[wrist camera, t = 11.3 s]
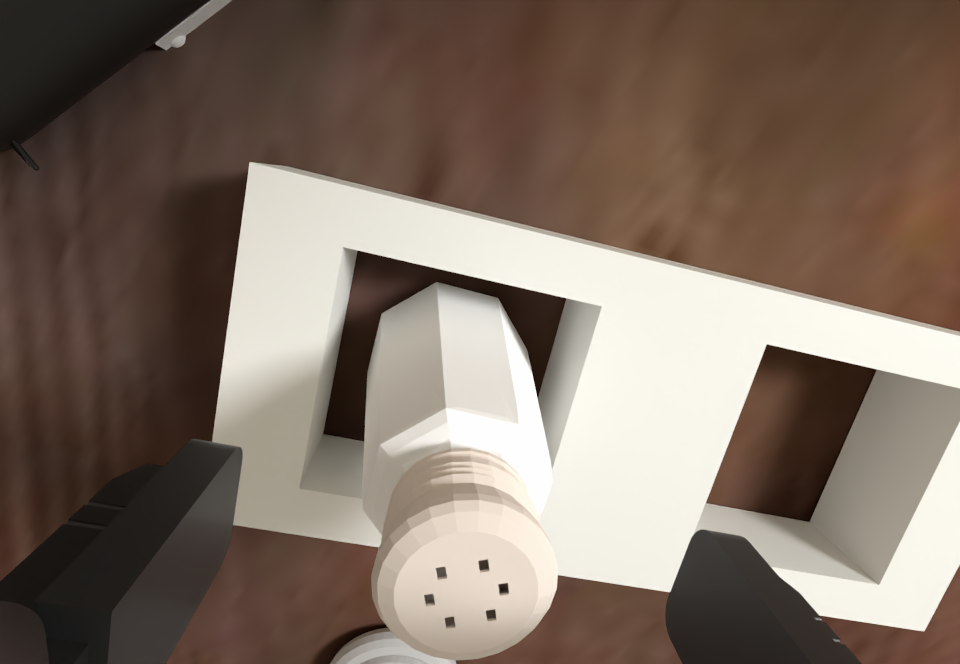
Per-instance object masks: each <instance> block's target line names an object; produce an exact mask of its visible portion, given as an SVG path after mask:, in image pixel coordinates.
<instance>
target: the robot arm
mask: <svg viewBox="0 0 960 664" xmlns="http://www.w3.org/2000/svg"><path fill="white" fill-rule="evenodd" d="M242 458H243V452H242V448H241V447H238V446H233V445H227V444H221V443H216V442H210V441H204V440H199V439H191V440H190V441H189V442H188V443H187V444H186V445H185V446H184V447H183V448H182V449H181V450H180V451H179V452H178V453H177V454H176V455H175V456H174V457H173V458H172V459H171V460H170V461H169V462H168V463H167V464H166V465H165V466H159V465H153V464H145V465H142V466H140V467H138V468H136V469H134V470H131V471H129V472H127V473H125V474H123V475H120V476H118V477H116V478H114V479H112V480H111V481H110V482H109V483H108V484H107V485H106V486H105V487H104V488H102V489H101V490H100V491H99V492H98V493H97V494H96V495H95V496H94V497H93V498H91V499H90V500H89V503H88V505H84V506H83V507H82V508H80V509H79V510H78V511H77V512H76V513H75V514H74V515H73V516H72V517H71V518H70V519H69V520H68V523H67V524H66V525H65V524H63V525H62V526H61V527H60V528H59V529H57V530H56V531H55V532H54V533H53V534H52V535H51V536H50V537H49V538H48V539H46V540H45V541H44V542H43V543H42V544H41V545H40V546H39V547H38V548H37V549H35V550H34V551H33V552H32V553H31V554H30V555H29V556H28V557H27V558H26V559H25V560H23V561H22V562H21V563H20V564H19V565H18V566H17V567H16V568H15V569H14V570H12V571H11V572H10V573H9V574H8V575H7V576H6V577H5V578H4V579H3V580H1V581H0V664H166V662H167V661H168V659H169V657H170V655H171V654H172V652H173V650H174V648H175V646H176V645H177V643H178V641H179V639H180V638H181V636H182V634H183V632H184V631H185V629H186V627H187V625H188V624H189V622H190V620H191V618H192V617H193V615H194V613H195V611H196V609H197V608H198V606H199V604H200V602H201V601H202V599H203V597H204V595H205V594H206V592H207V590H208V588H209V587H210V585H211V583H212V581H213V580H214V578H215V576H216V574H217V572H218V571H219V569H220V567H221V564H222V562H223V560H224V557H225V554H226V551H227V548H228V545H229V542H230V538H231V534H232V528H233V522H234V515H235V508H236V501H237V494H238V487H239V480H240V473H241V466H242ZM666 626H667V631H668V634H669V637H670V639H671V641H672V643H673V645H674V647H675V649H676V651H677V653H678V655H679V657H680V659H681V661H682V663H683V664H861V662H860V661H859V660H858V659H857V658H856V657H855V656H854V654H853V653H852V652H851V651H850V650H849V649H848V648H847V646H846V645H844V644H840V638H839V637H838V636H837V635H836V634H835V633H834V632H833V630H832V629H831V628H830V627H829V626H828V625H827V624H826V623H824V622H821V617H820V616H819V614H818V613H817V612H816V611H815V610H814V609H813V608H812V606H811V605H810V604H809V603H808V602H807V601H806V600H805V598H804V597H803V596H802V595H801V594H800V593H799V592H798V591H797V590H795V589H794V588H793V587H792V586H790V585H789V584H788V583H787V582H785V581H784V580H783V579H782V578H780V577H779V576H778V575H777V574H776V572H775V571H774V570H773V569H772V568H771V567H770V565H769V564H768V563H767V562H766V561H765V560H764V558H763V557H762V556H761V555H760V554H759V553H758V551H757V550H756V549H755V548H754V547H753V546H752V544H751V543H750V542H749V541H748V540H747V539H746V538H744V537H742V536H738V535H733V534H727V533H721V532H715V531H710V530H702V529H701V530H698V531H697V532H696V533H695V534H694V535H693V536H692V538H691V540H690V542H689V545H688V547H687V550H686V553H685V555H684V558H683V560H682V563H681V566H680V568H679V571H678V573H677V576H676V578H675V581H674V584H673V586H672V589H671V591H670V594H669V597H668V600H667V604H666Z"/></svg>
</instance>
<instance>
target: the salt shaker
mask: <svg viewBox="0 0 960 664" xmlns="http://www.w3.org/2000/svg"><path fill="white" fill-rule="evenodd" d="M552 483H553V478H552V468H551V460H550V455H549V451H548V446H547V441H546V436H545V432H544V427H543V422H542V417H541V413H540V408H539V403H538V398H537V394H536V389H535V384H534V379H533V375H532V370H531V365H530V360H529V356H528V351H527V348H526V347H525V345H524V343H523V341H522V340H521V338H520V336H519V334H518V333H517V331H516V329H515V327H514V325H513V324H512V322H511V320H510V318H509V317H508V315H507V313H506V311H505V310H504V308H503V306H502V304H501V302H500V301H499V299H498V298H496V297H493V296H489V295H485V294H481V293H477V292H473V291H470V290H466V289H462V288H458V287H454V286H450V285H447V284H443V283H439V282H436V283H434V284H432V285H430V286H429V287H427V288H425V289H423V290H422V291H420V292H418V293H416V294H415V295H413V296H411V297H409V298H408V299H406V300H404V301H403V302H401V303H399V304H397V305H396V306H394V307H392V308H390V309H389V310H387V311H385V312H383V313H382V314H381V318H380V322H379V326H378V330H377V334H376V338H375V342H374V347H373V351H372V355H371V359H370V363H369V367H368V371H367V390H366V413H365V435H364V457H363V480H362V498H363V511H364V512H365V513H366V515H367V516H368V517H369V519H370V520H371V522H372V523H373V524H374V526H375V527H376V528H377V530H378V531H379V532H380V534H381V535H382V538H381V544H380V546H379V549H378V552H377V556H376V560H375V564H374V567H373V571H372V575H371V582H372V598H373V601H374V603H375V606H376V609H377V611H378V614H379V617H380V618H381V619H382V620H383V622H384V623H385V624H386V626H387V627H388V628H389V629H390V631H391V632H392V633H393V634H394V635H395V636H397V637H398V638H399V639H401V640H402V641H403V642H405V643H406V644H407V645H409V646H410V647H411V648H413V649H415V650H417V651H420V652H422V653H425V654H427V655H430V656H432V657H437V658H443V659H449V660H469V659H479V658H482V657H486V656H490V655H493V654H497V653H500V652H501V651H503V650H505V649H507V648H509V647H511V646H513V645H515V644H517V643H518V642H519V641H521V640H522V639H523V638H524V637H525V636H527V635H528V634H529V633H530V632H531V631H532V630H534V628H535V627H536V626H537V625H538V623H539V622H540V621H541V619H542V618H543V616H544V615H545V614H546V612H547V611H548V609H549V608H550V605H551V603H552V600H553V597H554V595H555V592H556V589H557V577H558V566H557V562H556V558H555V554H554V550H553V547H552V545H551V542H550V540H549V538H548V537H547V535H546V533H545V532H544V530H543V529H542V527H541V524H540V517H541V515H542V512H543V509H544V506H545V503H546V500H547V497H548V494H549V491H550V489H551V486H552Z"/></svg>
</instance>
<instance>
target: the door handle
mask: <svg viewBox="0 0 960 664" xmlns="http://www.w3.org/2000/svg"><path fill="white" fill-rule="evenodd" d="M231 1H232V0H0V150H4V149H8V148H13V149H14V150H15V151H16V152H17V153H18V154H19V155H20V156H21V157H22V158H23V157H24V158H25V159H26V160H27V161H28V163H29V164H30V165H31V166H32V167H33V169H34V170H39V167H38V166H37V165H36V163H35V162H34V161H33V160H32V159H31V157H30V156H29V155H28V154H27V153H26V151H25V150H24V149H23V148H22V147H21V145H20V144H21V143H23V142H25V141H26V140H28V139H29V138H30V137H32V136H33V135H34V134H36V133H37V132H38V131H40V130H41V129H42V128H44V127H45V126H46V125H47V124H49V123H50V122H51V121H53V120H54V119H55V118H57V117H58V116H59V115H61V114H62V113H63V112H64V111H66V110H67V109H68V108H70V107H71V106H72V105H74V104H75V103H76V102H78V101H79V100H80V99H82V98H83V97H84V96H85V95H87V94H88V93H89V92H91V91H92V90H93V89H95V88H96V87H97V86H99V85H100V84H101V83H103V82H104V81H105V80H106V79H108V78H109V77H110V76H112V75H113V74H114V73H116V72H117V71H118V70H120V69H121V68H122V67H123V66H125V65H126V64H127V63H129V62H130V61H131V60H133V59H134V58H135V57H137V56H138V55H139V54H141V53H142V52H143V51H144V50H146V49H147V48H148V47H150V46H151V45H152V44H154V43H155V44H156V45H158V46H159V47H161V48H163V49H165V50H168V49H169V48H170V47H175V48H178V47H181V46H182V45H183V44H184V43H185V40H186V35H187V34H189V33H190V32H191V31H193V30H194V29H195V28H197V27H198V26H199V25H201V24H202V23H203V22H204V21H206V20H207V19H208V18H210V17H211V16H212V15H214V14H215V13H216V12H218V11H219V10H220V9H222V8H223V7H224V6H226V5H227V4H228V3H229V2H231ZM21 154H22V155H23V156H22V155H21ZM24 158H23V160H24V161H25V162H26V160H25V159H24ZM26 163H27V162H26ZM28 163H27V164H28ZM29 164H28V165H29Z"/></svg>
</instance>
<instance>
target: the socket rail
mask: <svg viewBox="0 0 960 664" xmlns="http://www.w3.org/2000/svg"><path fill="white" fill-rule="evenodd" d="M357 251H362V252H367V253H371V254H375V255H380V256H384V257H388V258H393V259H397V260H402V261H406V262H410V263H415V264H419V265H423V266H428V267H432V268H436V269H441V270H445V271H450V272H454V273H458V274H463V275H467V276H471V277H476V278H480V279H484V280H489V281H493V282H498V283H502V284H506V285H511V286H515V287H519V288H524V289H528V290H532V291H537V292H541V293H546V294H550V295H554V296H559V297H563V298H566V302H565V305H564V309H563V312H562V316H561V319H560V323H559V326H558V330H557V333H556V337H555V340H554V343H553V347H552V350H551V354H550V357H549V361H548V364H547V368H546V371H545V375H544V378H543V382H542V385H541V389H540V392H539V396H538V403H539V408H540V413H541V417H542V422H543V427H544V432H545V436H546V441H547V446H548V451H549V455H550V460H551V468H552V478H553V483H552V486H551V489H550V491H549V494H548V497H547V500H546V503H545V506H544V509H543V512H542V515H541V517H540V524H541V527H542V529H543V530H544V532H545V533H546V535H547V537H548V538H549V540H550V542H551V545H552V547H553V550H554V554H555V558H556V562H557V566H558V575H561V576H568V577H574V578H581V579H587V580H594V581H600V582H607V583H613V584H620V585H626V586H633V587H639V588H646V589H652V590H659V591H665V592H670V591H671V589H672V586H673V584H674V581H675V578H676V576H677V573H678V571H679V568H680V566H681V563H682V560H683V558H684V555H685V553H686V550H687V547H688V545H689V542H690V540H691V538H692V536H693V535H694V534H695V533H696V532H697V531H698V530H701V529H702V530H710V531H715V532H721V533H727V534H733V535H738V536H742V537H744V538H746V539H747V540H748V541H749V542H750V543H751V544H752V546H753V547H754V548H755V549H756V550H757V551H758V553H759V554H760V555H761V556H762V557H763V558H764V560H765V561H766V562H767V563H768V564H769V565H770V567H771V568H772V569H773V570H774V571H775V572H776V574H777V575H778V576H779V577H780V578H782V579H783V580H784V581H785V582H787V583H788V584H789V585H790V586H792V587H793V588H794V589H795V590H797V591H798V592H799V593H800V594H801V595H802V596H803V597H804V598H805V600H806V601H807V602H808V603H809V604H810V605H811V606H812V608H813V609H814V610H815V611H816V612H817V613H818V614H819V615H821V616H827V617H834V618H840V619H847V620H853V621H860V622H866V623H873V624H879V625H886V626H892V627H899V628H905V629H912V630H918V631H925V629H926V627H927V625H928V623H929V621H930V619H931V618H932V616H933V614H934V612H935V610H936V608H937V606H938V604H939V602H940V601H941V599H942V597H943V595H944V593H945V591H946V589H947V587H948V585H949V584H950V582H951V580H952V578H953V576H954V574H955V572H956V570H957V568H958V567H959V565H960V332H958V331H954V330H950V329H946V328H942V327H938V326H934V325H929V324H925V323H921V322H917V321H913V320H909V319H905V318H901V317H897V316H893V315H889V314H885V313H881V312H877V311H873V310H869V309H865V308H860V307H856V306H852V305H848V304H844V303H840V302H836V301H832V300H828V299H824V298H820V297H816V296H812V295H808V294H804V293H800V292H795V291H791V290H787V289H783V288H779V287H775V286H771V285H767V284H763V283H759V282H755V281H751V280H747V279H743V278H739V277H735V276H731V275H726V274H722V273H718V272H714V271H710V270H706V269H702V268H698V267H694V266H690V265H686V264H682V263H678V262H674V261H670V260H666V259H661V258H657V257H653V256H649V255H645V254H641V253H637V252H633V251H629V250H625V249H621V248H617V247H613V246H609V245H605V244H601V243H596V242H592V241H588V240H584V239H580V238H576V237H572V236H568V235H564V234H560V233H556V232H552V231H548V230H544V229H540V228H536V227H532V226H527V225H523V224H519V223H515V222H511V221H507V220H503V219H499V218H495V217H491V216H487V215H483V214H479V213H475V212H471V211H467V210H462V209H458V208H454V207H450V206H446V205H442V204H438V203H434V202H430V201H426V200H422V199H418V198H414V197H410V196H406V195H402V194H398V193H393V192H389V191H385V190H381V189H377V188H373V187H369V186H365V185H361V184H357V183H353V182H349V181H345V180H341V179H337V178H333V177H328V176H324V175H320V174H316V173H312V172H308V171H304V170H300V169H296V168H292V167H288V166H280V165H271V164H262V163H254V162H250V163H249V171H248V178H247V186H246V193H245V201H244V208H243V215H242V223H241V230H240V238H239V245H238V253H237V260H236V267H235V275H234V282H233V290H232V297H231V305H230V312H229V319H228V327H227V334H226V342H225V349H224V357H223V364H222V372H221V379H220V386H219V394H218V401H217V409H216V416H215V424H214V431H213V438H212V442H216V443H221V444H227V445H233V446H238V447H241V448H242V452H243V458H242V466H241V473H240V480H239V487H238V494H237V501H236V508H235V515H234V522H233V525H237V526H244V527H250V528H257V529H263V530H270V531H276V532H283V533H289V534H296V535H302V536H308V537H315V538H321V539H328V540H334V541H341V542H347V543H354V544H360V545H367V546H373V547H379V546H380V544H381V538H382V535H381V534H380V532H379V531H378V530H377V528H376V527H375V526H374V524H373V523H372V522H371V520H370V519H369V517H368V516H367V515H366V513H365V512H364V511H363V498H362V480H363V457H364V441H359V440H353V439H348V438H342V437H337V436H331V435H326V434H323V432H324V427H325V422H326V416H327V411H328V406H329V401H330V395H331V390H332V385H333V379H334V374H335V369H336V363H337V358H338V353H339V347H340V342H341V337H342V331H343V326H344V321H345V315H346V310H347V305H348V299H349V294H350V289H351V283H352V278H353V273H354V267H355V262H356V257H357ZM767 344H768V345H772V346H777V347H781V348H786V349H790V350H794V351H799V352H803V353H807V354H812V355H816V356H820V357H825V358H829V359H834V360H838V361H842V362H847V363H851V364H855V365H860V366H864V367H868V368H873V369H877V370H876V373H875V375H874V377H873V379H872V382H871V384H870V386H869V388H868V391H867V393H866V395H865V397H864V400H863V402H862V404H861V406H860V409H859V411H858V413H857V416H856V418H855V420H854V422H853V425H852V427H851V429H850V431H849V434H848V436H847V438H846V440H845V443H844V445H843V447H842V449H841V452H840V454H839V456H838V459H837V461H836V463H835V465H834V468H833V470H832V472H831V474H830V477H829V479H828V481H827V483H826V486H825V488H824V490H823V492H822V495H821V497H820V499H819V502H818V504H817V506H816V508H815V511H814V513H813V515H812V517H811V520H810V522H807V521H802V520H796V519H791V518H785V517H779V516H774V515H768V514H763V513H757V512H752V511H746V510H741V509H735V508H730V507H724V506H719V505H713V504H708V503H706V501H707V498H708V496H709V493H710V490H711V488H712V485H713V483H714V480H715V477H716V475H717V472H718V470H719V467H720V464H721V462H722V459H723V457H724V454H725V451H726V449H727V446H728V444H729V441H730V439H731V436H732V433H733V431H734V428H735V426H736V423H737V420H738V418H739V415H740V413H741V410H742V407H743V405H744V402H745V400H746V397H747V394H748V392H749V389H750V387H751V384H752V382H753V379H754V376H755V374H756V371H757V369H758V366H759V363H760V361H761V358H762V356H763V353H764V350H765V348H766V345H767Z"/></svg>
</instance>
